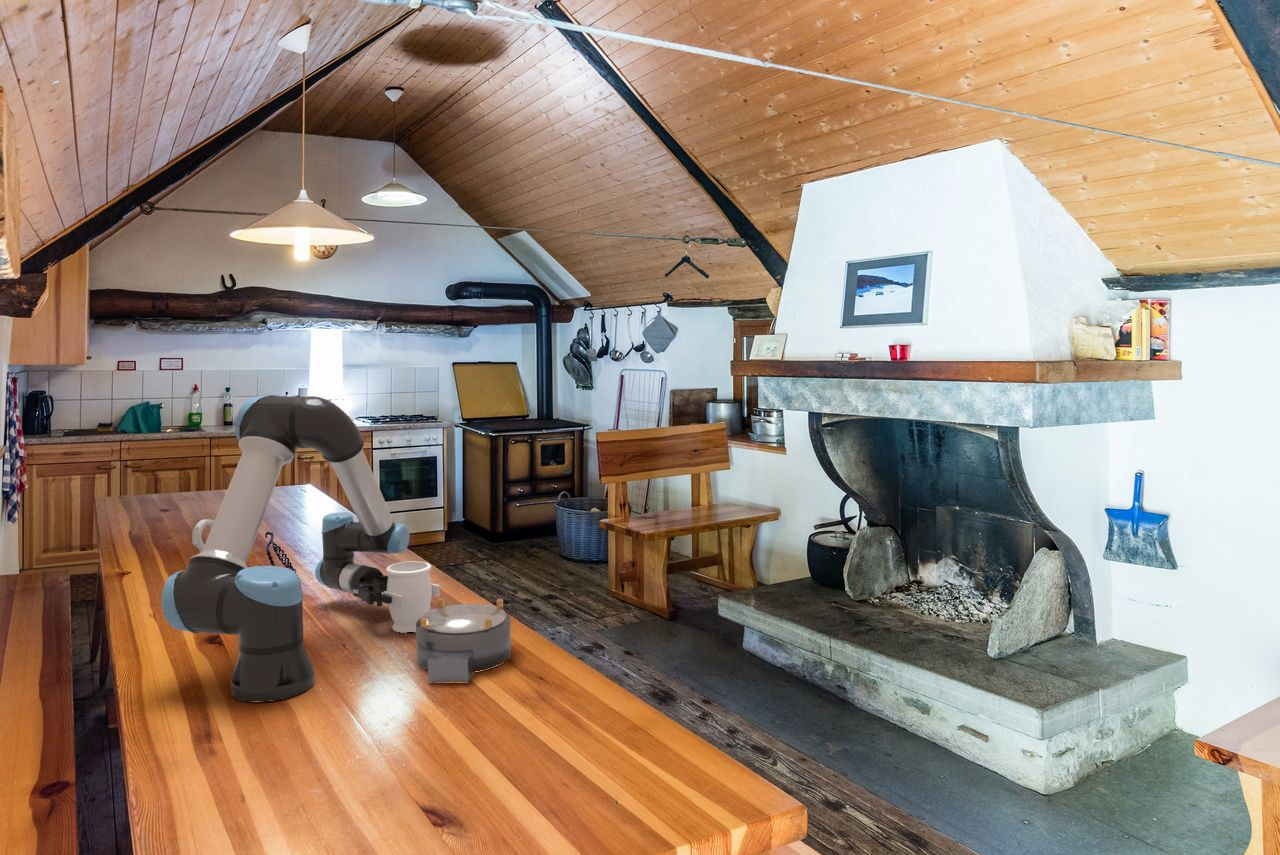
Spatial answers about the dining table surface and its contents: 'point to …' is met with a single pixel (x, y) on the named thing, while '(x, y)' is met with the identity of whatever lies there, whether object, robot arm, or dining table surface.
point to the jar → (409, 593)
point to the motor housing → (462, 640)
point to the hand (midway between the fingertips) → (420, 596)
